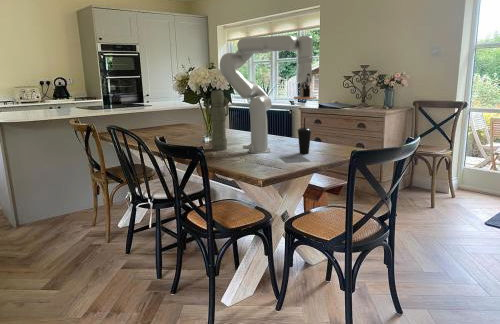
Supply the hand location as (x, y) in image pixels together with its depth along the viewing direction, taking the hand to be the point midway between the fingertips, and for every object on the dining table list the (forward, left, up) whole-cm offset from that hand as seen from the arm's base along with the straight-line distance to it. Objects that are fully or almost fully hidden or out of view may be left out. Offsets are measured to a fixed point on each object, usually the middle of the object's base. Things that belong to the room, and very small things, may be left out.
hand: (304, 95), depth 201 cm
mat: (-10, -13, -32) cm, 36 cm away
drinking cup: (0, 0, -32) cm, 32 cm away
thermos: (-43, +29, -32) cm, 61 cm away
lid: (0, 0, -1) cm, 1 cm away
